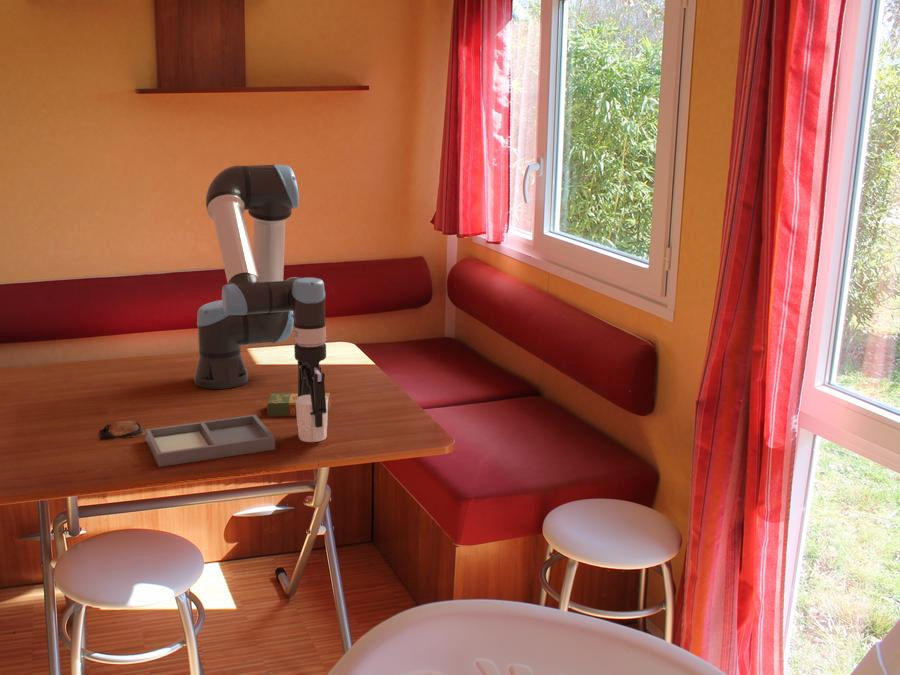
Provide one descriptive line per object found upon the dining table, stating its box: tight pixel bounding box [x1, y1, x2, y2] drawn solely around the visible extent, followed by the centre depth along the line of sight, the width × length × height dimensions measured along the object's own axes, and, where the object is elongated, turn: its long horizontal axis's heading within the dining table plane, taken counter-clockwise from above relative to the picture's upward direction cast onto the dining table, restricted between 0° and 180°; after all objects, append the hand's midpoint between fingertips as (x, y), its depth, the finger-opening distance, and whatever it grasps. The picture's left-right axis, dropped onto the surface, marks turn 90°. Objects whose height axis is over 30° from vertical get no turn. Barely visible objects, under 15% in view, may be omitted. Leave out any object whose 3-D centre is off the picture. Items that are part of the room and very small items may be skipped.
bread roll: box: [99, 420, 146, 441], centre depth 244 cm, size 11×8×4 cm
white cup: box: [295, 394, 329, 443], centre depth 241 cm, size 8×8×10 cm
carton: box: [266, 392, 332, 417], centre depth 261 cm, size 8×16×4 cm, turn 93°
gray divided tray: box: [144, 414, 276, 468], centre depth 236 cm, size 18×27×3 cm, turn 115°
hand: (312, 433), depth 242 cm, fingers closed on white cup, 8 cm apart
